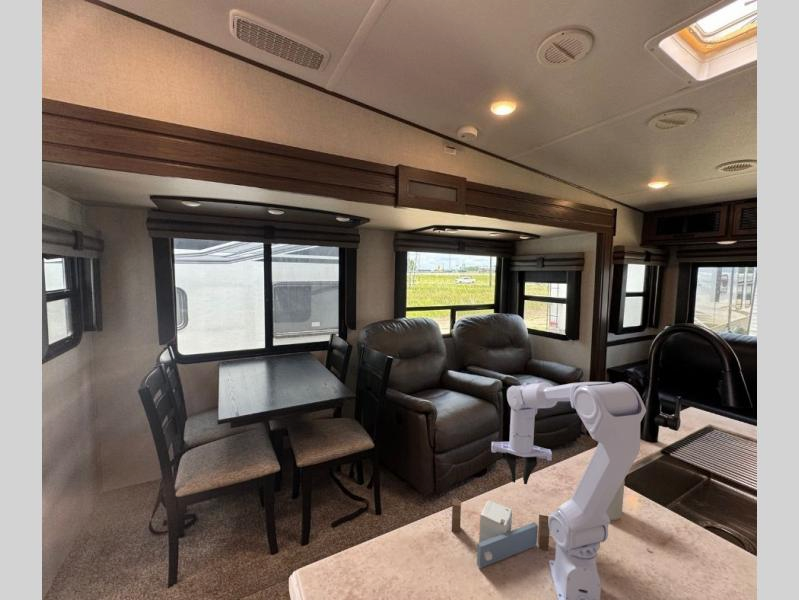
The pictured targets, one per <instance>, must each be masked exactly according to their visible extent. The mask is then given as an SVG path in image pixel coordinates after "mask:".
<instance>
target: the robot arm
mask: <svg viewBox="0 0 799 600" xmlns="http://www.w3.org/2000/svg"><path fill="white" fill-rule="evenodd" d="M506 399H507V400H506V401H507V402H508V405H509V407H510V422H509V423H510V424H509V441H491V449H490V450H491V453H494V454H495V453H502V454H503V453H504V454H505V459H506V462H507V463H506V464H507V465H508V467H509V471H510V473H511V482H512V483H516V468H517V456H518V457H522V458H523V460H524V461H523V462H524V463H523V464H524V465H523V474H522V481H523V485H527V484H528V481H529V478H530V477H531V473H532V472H533V471H534V469H535V468H536V467H537V465H538V460H537V458H539V459H546V460H547V461H550V462H551V461H552V458H553V453H552V450H551V449H549V448H544V447H540V446H537V445H534V436H535V435H534V433H535V432H534V431H535V417H536V415H537V414H538V409H551V408H553V407H555V406H557V403H558V402H570V405H571V408H572V409H575V410H576V413H577V415H578V416H579V418H580V420H581V421H582V423H583V426H585V428H586V431H588V433H589V435H590V437H591V439H593V440H594V441H596V442H598V444H597V445H596V448H595V450H594V452H593V454H592V456H591V458H590V460H589V461H588V465H587V466H586V468H585V470H584V473H582V474H583V475H582V476H581V479H580V480H579V482H578V484H577V487H576V488H575V491H574V493H573V495H572V497H571V498H570V499H569V500H567V501H565V502H564V503H562V504H561V505H559V506H558V507H557V509H556V511H552V512H550V513H549V515H548V517H549V518H548V526H549V530H550V533H549V534H550V535H551V537H552V539H553V541H554V542H555V554H554V555H555V556H554V557H555V558H554V560H552V559H549V560H548V564H549V569H550V574H551V577H552V581H553V586H554V589H555V592H556V594H555V595H556V597H557V600H601V594H602V593H601V591H602V581H601V578H600V575H599V572H598V567H597V556H598V555H597V554H598V550H599V549H600V548H601V543H604V542H606V541H607V540H608V537H609V525H610V523H611V520H610V519H609V517H608V515H607V513H606V510H607V508H608V507H609V505H610V503H611V501H612V500H613V498H614V496H615V494H616V493H617V491H618V489H619V487H620V486H621V484H622V482H623V480H624V481H625V478H626V476H627V475H628V473H629V471H630V470H631V468H632V466H633V464H634V463H635V461H636V459H637V458H638V455H639V453H640V449H641V422H642V420H643V418H644V416H645V415H646V412H647V409H646V406H645V404H644V401H643V400H642V398H641V395H640V394H639V392H638V390H637V389H636V388H635V387H633V385H632V384H629V383H627V382H624V381H619V382H615V383H612V382H610V381H609V382H608V381H583V382H581V381H580V382H572V383H566V384H561V385H553V384H552V383H550V382H547V381H544V380H543V379H538V380H534V383H531V382H524V383H523V385H511V386H510V387H508V388H507V390H506Z"/></svg>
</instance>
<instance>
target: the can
mask: <svg viewBox="0 0 799 600" xmlns="http://www.w3.org/2000/svg"><path fill="white" fill-rule="evenodd" d="M625 483H626V482H625V479H624V480H623V482H622V484H621V486H620V487H619V489H618V491H617V493H616V494H615V496H614V498H613V500H612V501H611V503H610V505H609V507H608V508H607V510H606V513H607V515H608V517H609V519H610V521H616V520H619V519H621V518H622V516H623V508H624V507H623V505H624V493H625V491H624V490H625Z"/></svg>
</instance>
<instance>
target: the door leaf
mask: <svg viewBox="0 0 799 600" xmlns="http://www.w3.org/2000/svg"><path fill="white" fill-rule="evenodd" d="M538 525H539V524H537V523H536V522H532V523H529V524H526V525H523V526H521V527H518V528H515V529H511V531H510V532H507V533H504V534H501V535H499V536H496V537H493V538H491V539H488V540H485V541H483V542H477V551H476V552H477V554H476V555H477V556H476V566H478V568H479V569H482V568H485V567H486V566H489V565H491V564H495V563H496V562H499V561H502V560H504V559H507V558H508V557H512V556H514V555H517V554H519V553H521V552H525V551H527V550H529V549H531V548H533V547H535V546H538Z"/></svg>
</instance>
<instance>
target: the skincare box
mask: <svg viewBox="0 0 799 600" xmlns="http://www.w3.org/2000/svg"><path fill="white" fill-rule="evenodd" d="M479 516H480V519H479V534H478V535H479V537H478V538H479V539H478V543H480V542H483V541H485V540H488V539H491V538H493V537H496V536H499V535H501V534H504V533H507V532H510V531H512V523H513V522H512V521H513V509H511V508H509V507H506V506H503V505H501V504H499V503H497V502H494V501H492V500H487V501H486V504H485V505H484V507H483V509H482V511H481V513H480V515H479Z"/></svg>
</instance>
